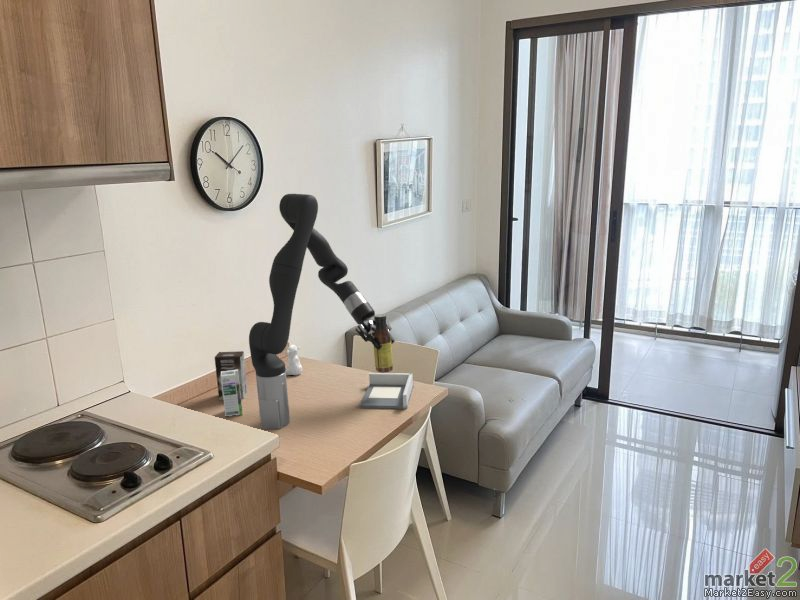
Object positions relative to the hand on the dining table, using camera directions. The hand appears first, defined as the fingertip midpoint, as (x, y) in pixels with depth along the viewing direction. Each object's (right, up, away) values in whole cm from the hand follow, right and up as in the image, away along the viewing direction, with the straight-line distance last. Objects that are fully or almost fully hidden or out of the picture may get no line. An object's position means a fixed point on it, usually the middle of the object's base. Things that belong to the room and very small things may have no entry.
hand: (386, 345), depth 204 cm
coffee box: (-55, -19, +10) cm, 59 cm away
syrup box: (-51, -23, -4) cm, 56 cm away
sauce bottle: (-1, -9, +3) cm, 10 cm away
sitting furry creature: (-37, -14, +31) cm, 51 cm away
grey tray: (0, -18, +4) cm, 19 cm away
